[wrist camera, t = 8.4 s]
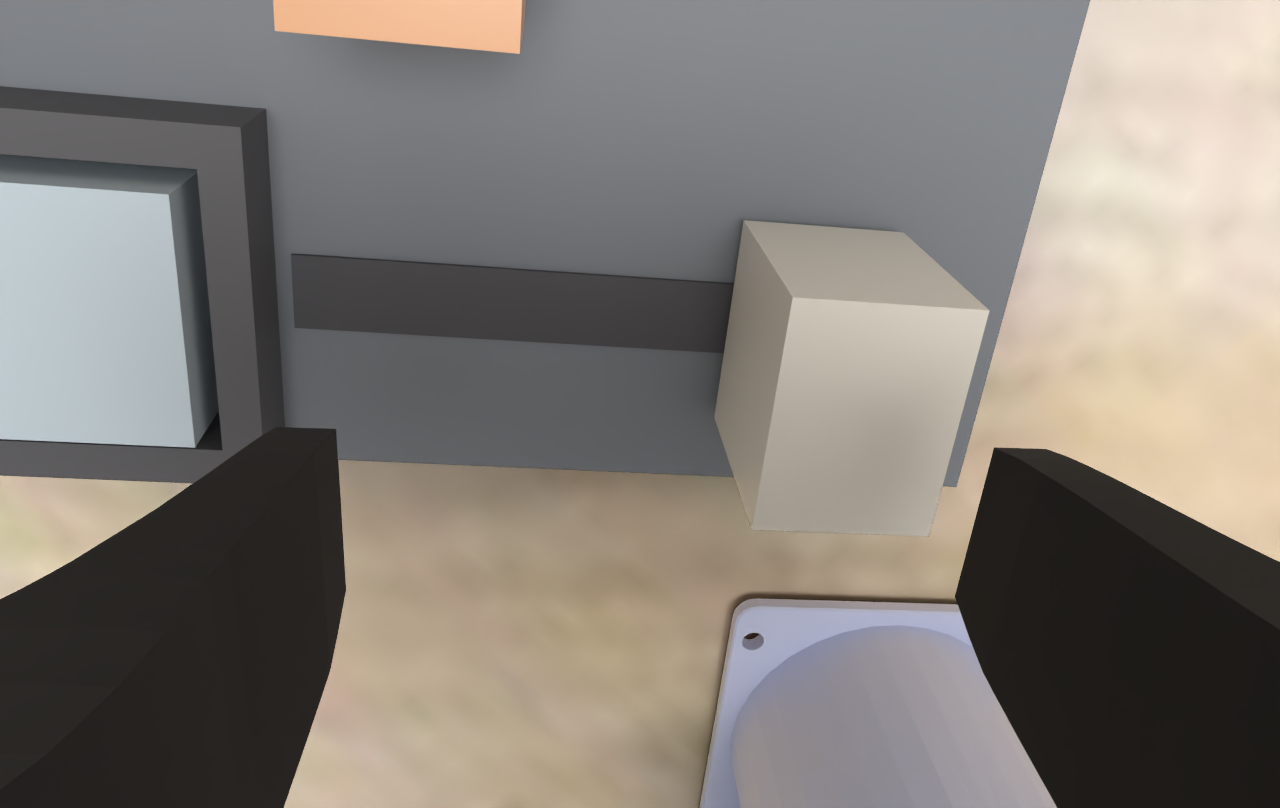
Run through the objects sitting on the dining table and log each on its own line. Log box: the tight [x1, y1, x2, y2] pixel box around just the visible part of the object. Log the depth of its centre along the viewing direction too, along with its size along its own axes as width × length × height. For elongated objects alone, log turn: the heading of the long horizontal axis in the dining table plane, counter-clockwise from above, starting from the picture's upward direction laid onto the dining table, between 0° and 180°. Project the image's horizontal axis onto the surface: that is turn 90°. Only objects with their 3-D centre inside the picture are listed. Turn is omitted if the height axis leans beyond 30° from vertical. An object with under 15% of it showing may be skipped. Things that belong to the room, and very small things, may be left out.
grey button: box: [0, 155, 219, 448], centre depth 17 cm, size 4×4×2 cm
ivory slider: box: [714, 220, 990, 537], centre depth 17 cm, size 4×3×4 cm
